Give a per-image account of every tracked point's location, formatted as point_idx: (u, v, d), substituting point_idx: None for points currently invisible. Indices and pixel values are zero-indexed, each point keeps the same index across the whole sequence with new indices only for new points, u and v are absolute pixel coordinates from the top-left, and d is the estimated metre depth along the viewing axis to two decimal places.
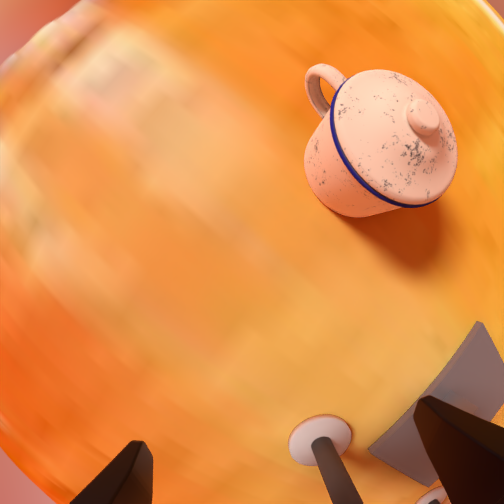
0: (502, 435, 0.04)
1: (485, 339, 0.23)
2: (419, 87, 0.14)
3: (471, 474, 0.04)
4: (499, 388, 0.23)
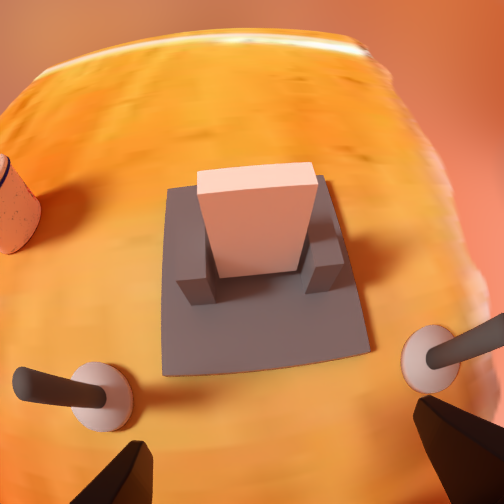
0: (502, 435, 0.04)
1: (187, 192, 0.28)
2: None
3: (471, 474, 0.04)
4: None
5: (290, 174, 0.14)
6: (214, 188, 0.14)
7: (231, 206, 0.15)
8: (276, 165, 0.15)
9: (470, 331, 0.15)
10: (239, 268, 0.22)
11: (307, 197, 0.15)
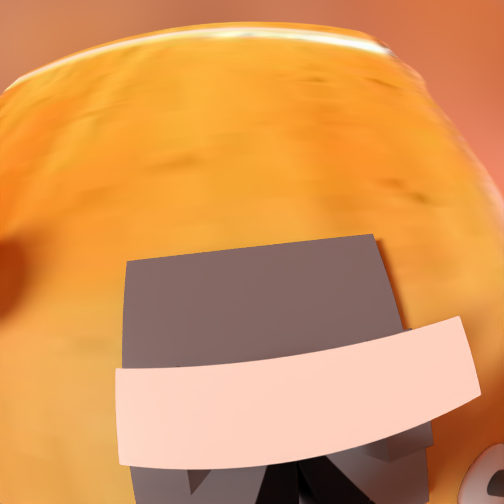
0: None
1: (157, 268, 0.17)
2: None
3: None
4: (327, 271, 0.17)
5: (419, 375, 0.04)
6: (170, 454, 0.03)
7: None
8: (375, 346, 0.04)
9: None
10: None
11: None
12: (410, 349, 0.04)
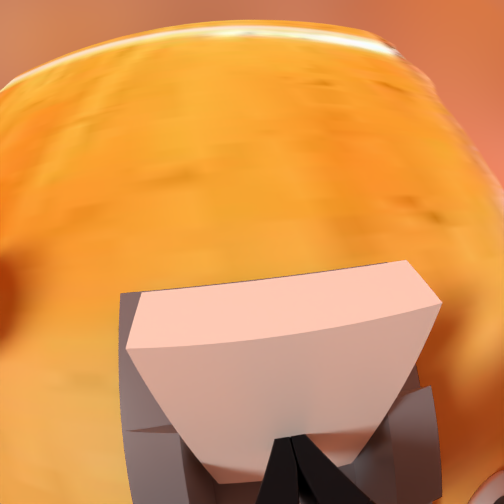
0: None
1: None
2: None
3: None
4: None
5: (374, 289, 0.05)
6: (172, 336, 0.05)
7: (224, 385, 0.05)
8: (333, 273, 0.06)
9: None
10: (252, 474, 0.09)
11: (412, 342, 0.05)
12: (363, 275, 0.06)
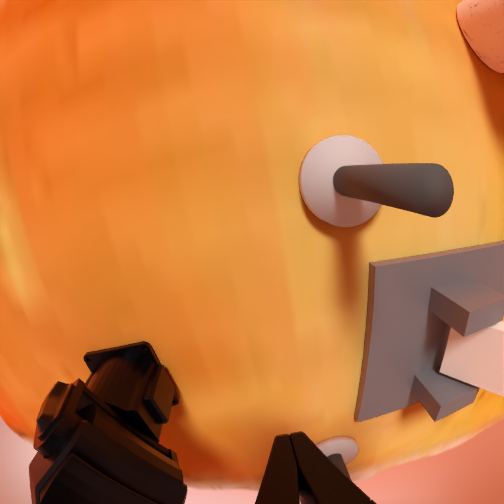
0: None
1: None
2: None
3: None
4: None
5: None
6: None
7: None
8: None
9: None
10: None
11: None
12: None
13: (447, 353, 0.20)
